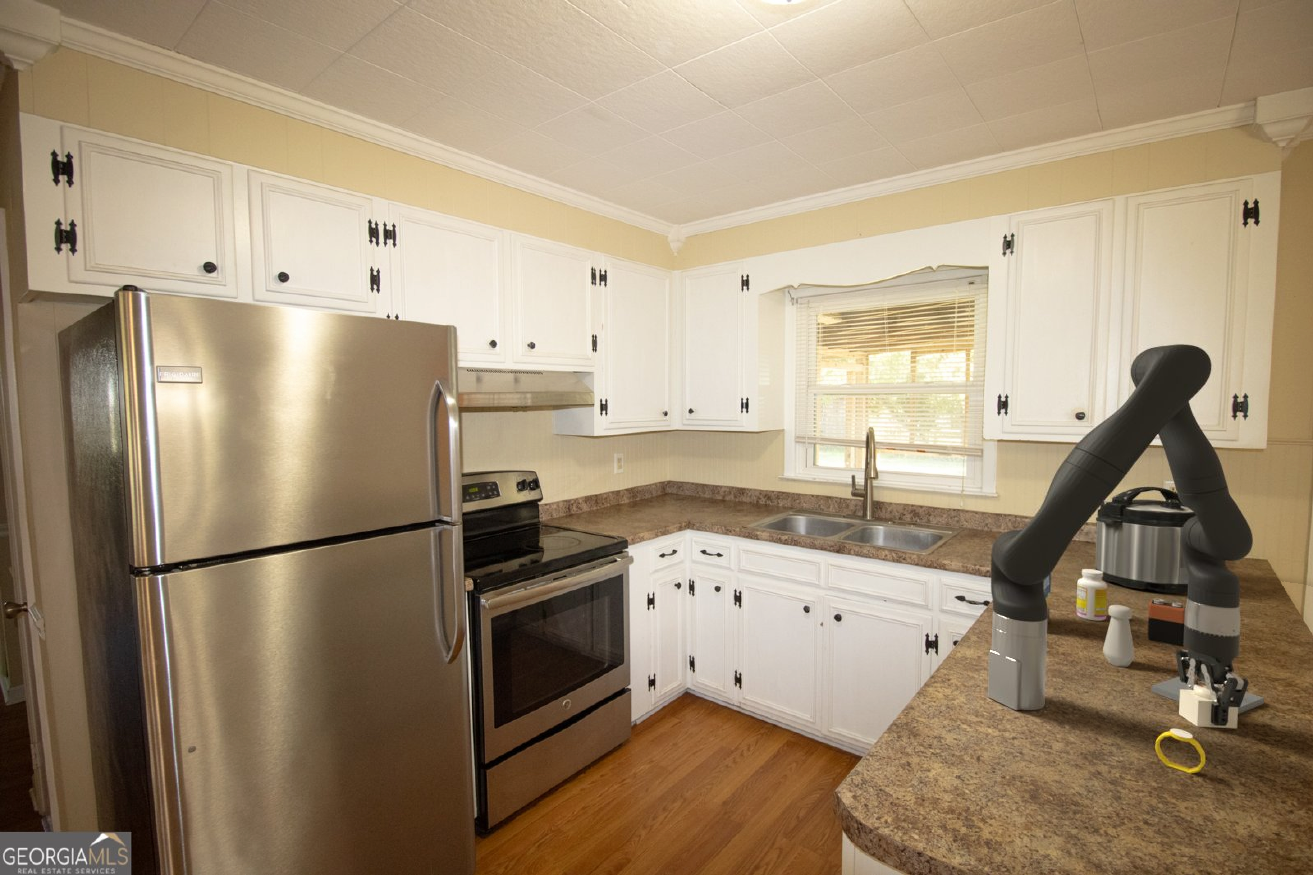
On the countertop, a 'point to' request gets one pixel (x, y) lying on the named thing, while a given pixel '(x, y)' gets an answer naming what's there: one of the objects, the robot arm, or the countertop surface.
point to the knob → (1202, 707)
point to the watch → (1181, 736)
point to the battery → (1166, 622)
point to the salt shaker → (1119, 637)
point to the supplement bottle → (1092, 595)
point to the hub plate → (1177, 685)
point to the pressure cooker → (1143, 541)
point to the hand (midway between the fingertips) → (1207, 717)
